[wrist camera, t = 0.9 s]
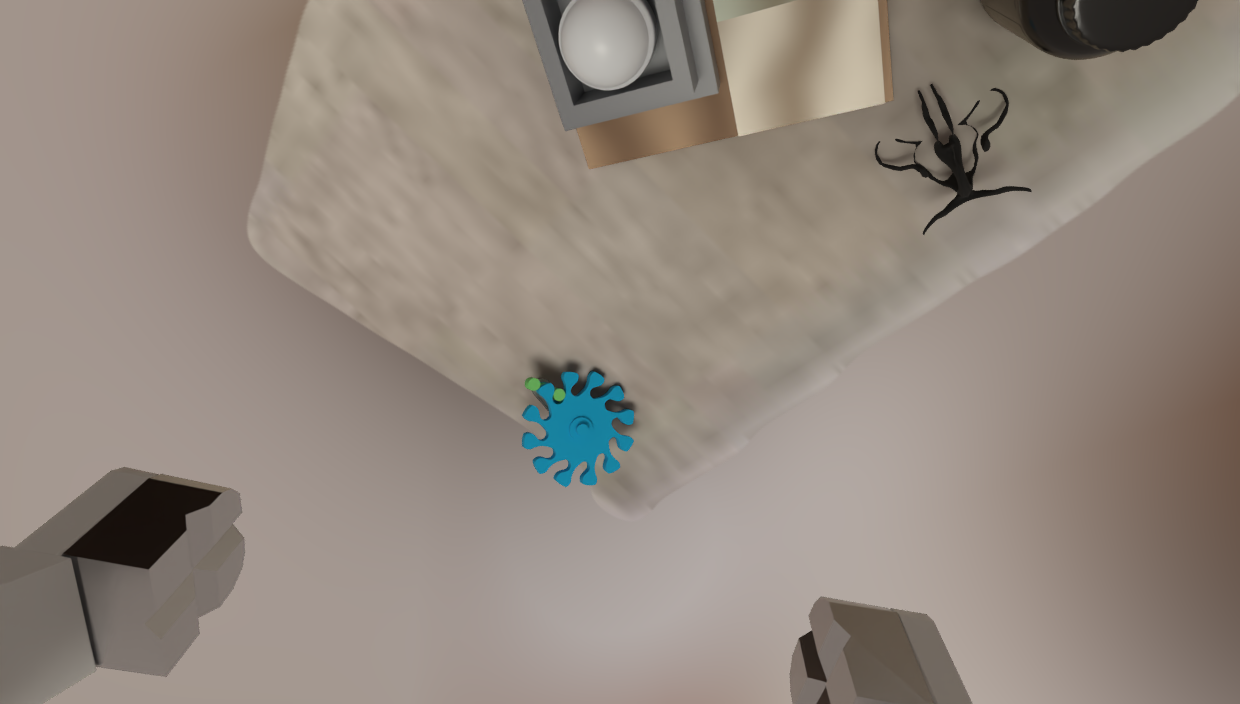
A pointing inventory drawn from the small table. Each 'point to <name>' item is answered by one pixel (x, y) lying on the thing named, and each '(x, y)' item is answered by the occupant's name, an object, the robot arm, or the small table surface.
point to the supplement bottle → (1088, 23)
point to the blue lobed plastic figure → (576, 426)
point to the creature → (954, 159)
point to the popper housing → (667, 79)
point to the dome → (607, 41)
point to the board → (764, 76)
